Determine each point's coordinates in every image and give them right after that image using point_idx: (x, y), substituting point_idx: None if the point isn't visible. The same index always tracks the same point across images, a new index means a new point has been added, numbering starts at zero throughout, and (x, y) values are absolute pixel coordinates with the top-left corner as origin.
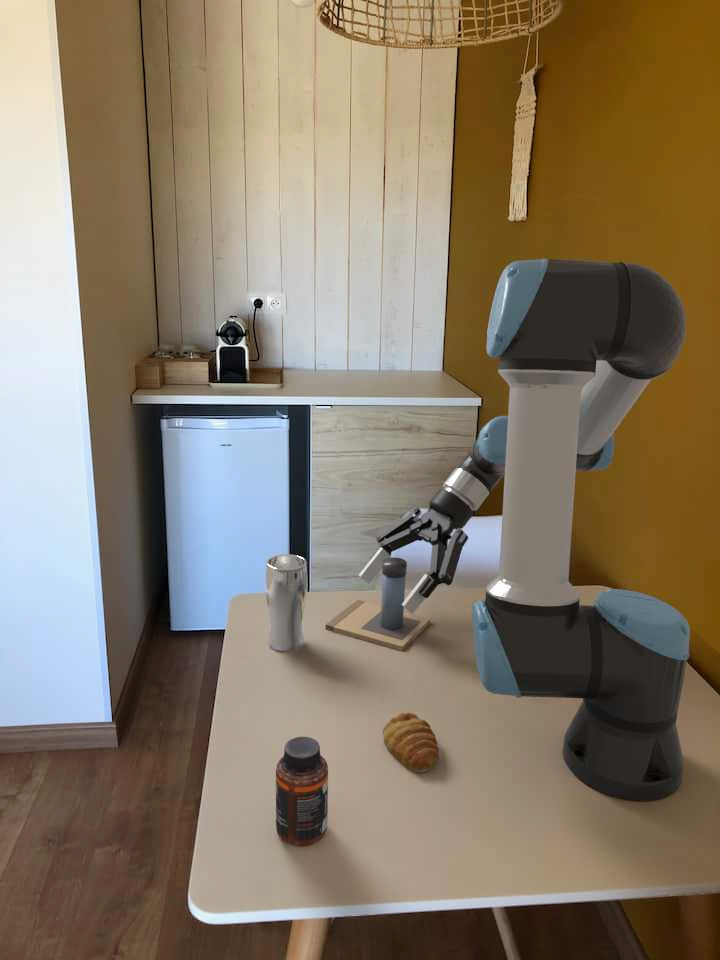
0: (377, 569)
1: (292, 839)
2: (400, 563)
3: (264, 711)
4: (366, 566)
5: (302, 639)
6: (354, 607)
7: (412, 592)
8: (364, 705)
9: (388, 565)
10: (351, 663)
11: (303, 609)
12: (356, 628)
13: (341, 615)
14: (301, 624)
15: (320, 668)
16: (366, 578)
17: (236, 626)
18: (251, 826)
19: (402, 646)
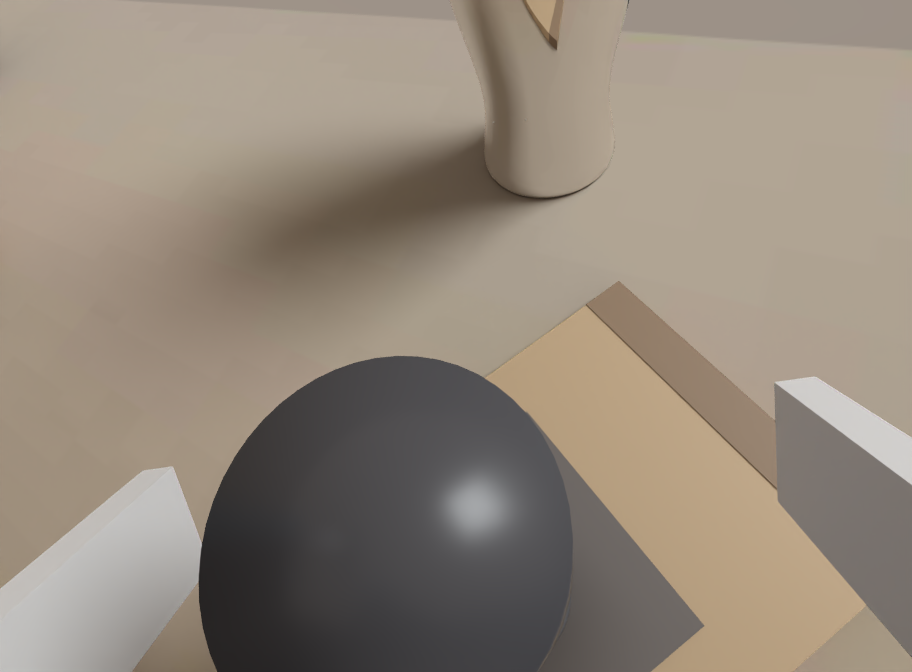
0: (874, 580)
1: None
2: (295, 595)
3: (252, 71)
4: (873, 427)
5: (507, 170)
6: None
7: (69, 548)
8: (120, 261)
9: (326, 390)
10: (324, 299)
11: (484, 54)
12: (534, 393)
13: (697, 375)
14: (508, 119)
15: (349, 207)
16: (787, 454)
17: (726, 42)
18: (22, 37)
19: None
